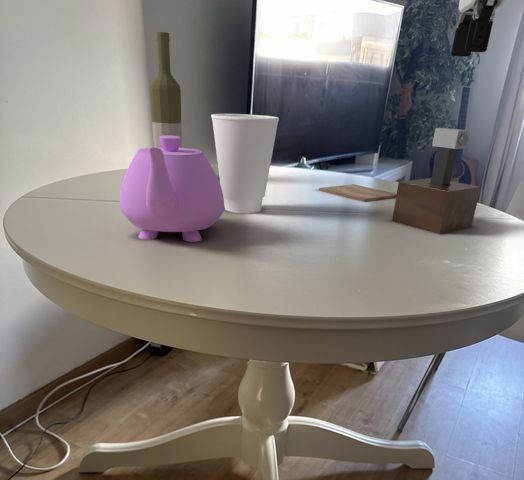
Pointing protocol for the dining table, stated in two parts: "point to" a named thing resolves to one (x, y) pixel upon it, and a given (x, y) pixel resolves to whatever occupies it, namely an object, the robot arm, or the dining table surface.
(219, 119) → the cup
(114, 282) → the dining table surface
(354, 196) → the wooden board
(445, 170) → the long square rod
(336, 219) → the dining table surface
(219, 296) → the dining table surface
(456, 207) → the holder
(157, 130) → the bottle
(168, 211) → the teapot
